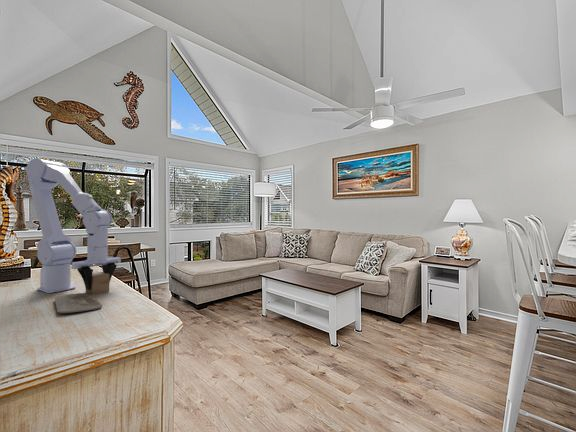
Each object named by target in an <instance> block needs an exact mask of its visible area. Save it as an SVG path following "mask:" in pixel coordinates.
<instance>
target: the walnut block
mask: <svg viewBox="0 0 576 432" xmlns="http://www.w3.org/2000/svg"><path fill="white" fill-rule="evenodd" d="M108 292H110V283H109V273H105V272H103V271H98V272H92V278H91V290H87V289H86V288H85V293H86V294H88V295H89V294H90V295H98V294H104V293H108Z"/></svg>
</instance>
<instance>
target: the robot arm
mask: <svg viewBox="0 0 576 432" xmlns="http://www.w3.org/2000/svg"><path fill="white" fill-rule="evenodd" d="M70 172H71V171H70V169H69V168H68V167H67V166H66V164H65V163H63V162H60V161H59V162H58V161H51V160H47V159H41V158H39V157H35V158H32V159H30V160H29V161H28V163H27V165H26V167H25V173H26V176H27V180H28V183H29V185H28V186H29V191H30V195H31V200H32V202H33V206H34V209H35V210H34V211H35V212H36V216H37V219H38V224H39V226H40V230H41V233H42V234H41V235H42V236H43V237H42V238H41V239H40V240H39V241H38V242H37V243H36V247H37V252H36V254H37V255H36V256H37V260H38V261H39V262H40V263H41V265H42V267H41V268H40V272H39V274H40V276H39V277H40V280H39V281H40V282H39V283H40V285H39V287H36V290H38V291H41V292H43V293H46V294H52V293H56V292H57V293H58V292H63V291H68V290H74V289H76V288H77V287H76V286H73V285H71V274H72V273H71V270H77V272H78V273H79V275H80V277H81V278H82V281H83V283H84V287H85V290H86V289H87V290H91V278H92V273H94V269H93V268H92V267H97V266H101V269H102V272H105V273H109V284H111V283H110V282H111V279H112V276H113V274H114V273H115V271H116V269H117V264H121V263H122V257H120V256H119V257H118V256H117V257H116V256H115V257H109V256H108V255H109V254H108V252H109V250H108V249H109V248H108V246H109V244H108V243H109V242H108V241H109V238H108V232H109V231H108V230H109V229H108V227H109V226H110V225H111V224H112V222H113V218H112V217H113V216H112V214H111V212H110V211H108V210H104V209H103V208H102V207H101V206H100V205H99V204H98V203H97V202H96V201H95V199H93V198H94V197H93V195H92V194H89V193H87V192H83V191H82V190H81V188H80V187H79V185H78V184H77V182H76V181H75V179H74V178H73V177H72V176H71V173H70ZM58 185H59V186H60V187H61V188H62V189H63V190H64V191H65V192H66V193H67V194H68V195H69V196H70V197H71V198H72V199H71V204H72V206H73V207H74V208H75V209H76V210H77V211H78V213H79V214H80V215H81V216H82V224H83V225H84V227H85V232H86V235H87V237H86V239H87V242H86V243H87V244H86V245H87V246H86V247H87V250H86V251H87V255H86V256H87V258H86V259H85V260H81V261H73V259H74V258H75V257H76V256H77V247H76V246H75V244H74V243H73V242H72V238H71V237H69V236H68V235H67V234H65V233H64V231H63V228H62V225H61V222H60V217H59V214H58V211H57V207H56V204H55V200H54V196H53V193H52V190H53V188H55V187H57V186H58Z"/></svg>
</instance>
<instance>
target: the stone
mask: <svg viewBox="0 0 576 432" xmlns="http://www.w3.org/2000/svg"><path fill="white" fill-rule="evenodd" d="M54 300H55V301H54V302H55V307H56V312H57V313H59V314H72V313H78V312H79V313H81V312H86V311H87V312H88V311H93V310H99V309H101V308H102V307H103V303H101V302H100V301H98V300H97V299H95V298H94V297H93V296H91V295H89V293H86V292H79V293H68V294H58V295H56V294H55V295H54Z"/></svg>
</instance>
